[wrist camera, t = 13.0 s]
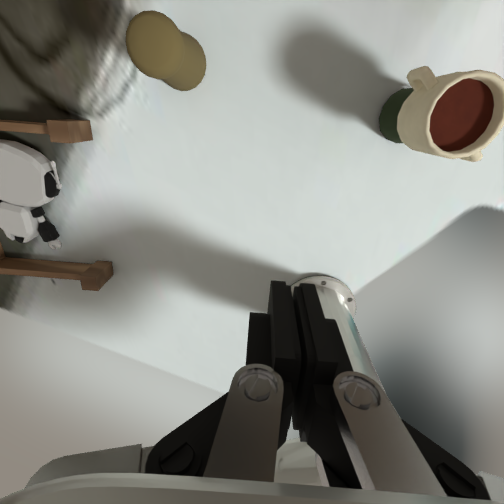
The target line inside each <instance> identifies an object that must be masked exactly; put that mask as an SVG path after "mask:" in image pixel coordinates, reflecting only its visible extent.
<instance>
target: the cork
mask: <svg viewBox="0 0 504 504" xmlns="http://www.w3.org/2000/svg"><path fill="white" fill-rule="evenodd" d="M126 46H127V51H128V54H129V56H130V58H131V60H132V62H133V63H134V64H135V66H136V67H137V68H138V69H139V70H140V71H141V72H142V73H144V74H145V75H147V76H149V77H152V78H156V79H162V80H163V81H165V82H166V83H167V84H168V85H169V86H171V87H172V88H174V89H177V90H180V91H188V90H191V89H193V88H195V87H196V86H197V85H198V84H199V83H200V82H201V81H202V79H203V77H204V75H205V70H206V58H205V54H204V51H203V49H202V47H201V45H200V44H199V43H198V41H197V40H196V39H194V38H193V37H192V36H190V35H189V34H186V33H183V32H181V31H180V30H179V29H178V28H177V26H176V25H175V24H174V22H173V21H172V20H171V19H170V18H168V17H167V16H166V15H164V14H163V13H160V12H157V11H143V12H141V13H139V14H137V15H135V16H134V18H133V19H132V20H131V21H130V23H129V26H128V28H127V31H126Z"/></svg>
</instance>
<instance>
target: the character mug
mask: <svg viewBox="0 0 504 504" xmlns="http://www.w3.org/2000/svg"><path fill="white" fill-rule="evenodd" d="M407 79H408V81H409V83H410V85H411V87H412V88H407V89H401V90H400V91H398V92H396V93H395V94H393V95H392V96H391V97H390V98H389V99H388V101H387V102H386V103H385V105H384V106H383V108H382V111H381V114H380V117H379V124H380V131H381V132H382V134H383V135H384V136H385V138H386V139H388V140H390V141H392V142H395V143H404V144H405V145H407V146H408V147H409V148H410V149H412V150H415V151H419V152H423V153H428V154H432V155H436V156H441V157H445V158H449V159H456V158H460V159H462V160H467V161H471V162H476V161H480V160H481V159H482V157H483V155H482V153H481V151H480V150H482V149H484V148H486V147H487V146H488V145H489V144H490V143H491V141H492V140H493V139H494V138H495V137H496V136H497V135H498V134H499V132H500V131H501V129H502V127H503V125H504V79H503V78H501V77H500V76H498V75H497V74H496V73H493V72H488V71H483V70H474V71H468V72H455V73H451V74H447V75H442V76H438V77H435V75H434V74H433V72H432V71H431V70H430V68H429V67H427V66H423V67H420V68H416V69H414V70H411V71H410V72H409V73H408V75H407Z"/></svg>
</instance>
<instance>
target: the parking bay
mask: <svg viewBox="0 0 504 504" xmlns="http://www.w3.org/2000/svg"><path fill="white" fill-rule="evenodd" d="M46 121H47V123H39V122H26V121H13V120H0V130H2V131H15V132H28V133H41V134H49V135H50V139H51V142H60V143H76V142H83V141H90V140H93V138H92V131H91V125H90V121H87V120H74V119H65V120H46ZM0 274H9V275H22V276H35V277H47V278H60V279H73V280H80V281H81V286H82V290H92V291H99V290H100V288H101V287H102V286H103V285H104V284H105V283H106V282H107V281H108V280H109V279H110V278H111V277H112V276H113V275H114V274H113V267H112V262H109V261H96V262H95V263H94V264H86V263H74V262H61V261H48V260H35V259H22V258H10V257H5V254H4V251H3V248H2V245H1V242H0Z"/></svg>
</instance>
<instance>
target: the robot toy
mask: <svg viewBox="0 0 504 504" xmlns="http://www.w3.org/2000/svg"><path fill="white" fill-rule="evenodd" d="M55 166H56V164H55V162H54V161H52V162H51V161H50V160H49V159H47V158H46V157H45V156H44V155H43V154H41V153H40V152H38V151H36V150H34V149H32V148H30V147H28V146H26V145H23V144H21V143H19V142H16V141H10V140H2V139H0V228H1V229H3V230H4V232H5V234H6V236H7V237H8V238H10V239H11V240H14V239H16V240H17V241H18V242H20V243H26V242H28V241H30V240H32V239H33V238H35V237H36V236H38V235H39V234H40V236H41V237H42V239H43V241H44V242H49V246H50V247H51V248H52V249H56V248H57V249H59V248H61V246H62V245H61V242H60V241H59V240H58V239H57V238H58V237H59V236H60V235H59V234H58V232H57V230H56V228H55V226H54V225H52V224H51V223H49V222H47V221H46V220H45V219H44V217H43V215H44V214H45V212H44V210H43V209H42V207H39V206H41V205H43V204H46V203H48V202H50V201H52V200H53V199H54V197H55V196H57V195H58V194H59V191H60V189H61V188H62V184H61V183H60V180H59V176H58V173H57V170H56V167H55Z"/></svg>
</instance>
